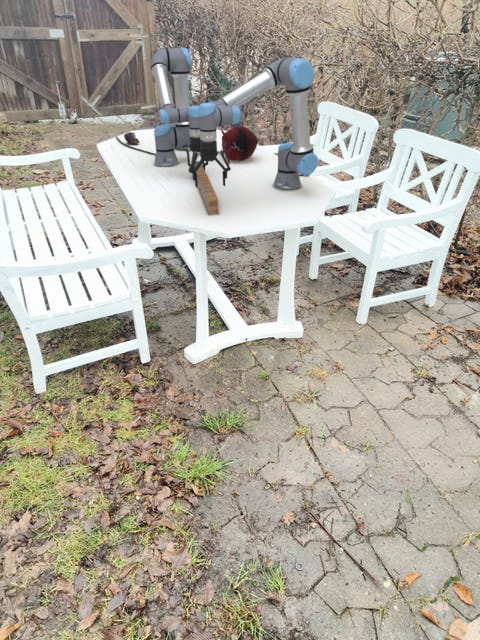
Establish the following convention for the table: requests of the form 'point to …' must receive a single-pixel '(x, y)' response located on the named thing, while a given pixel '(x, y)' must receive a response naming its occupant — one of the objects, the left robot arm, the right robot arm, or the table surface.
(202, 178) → the post
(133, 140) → the rock
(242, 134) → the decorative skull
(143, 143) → the table surface
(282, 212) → the table surface
